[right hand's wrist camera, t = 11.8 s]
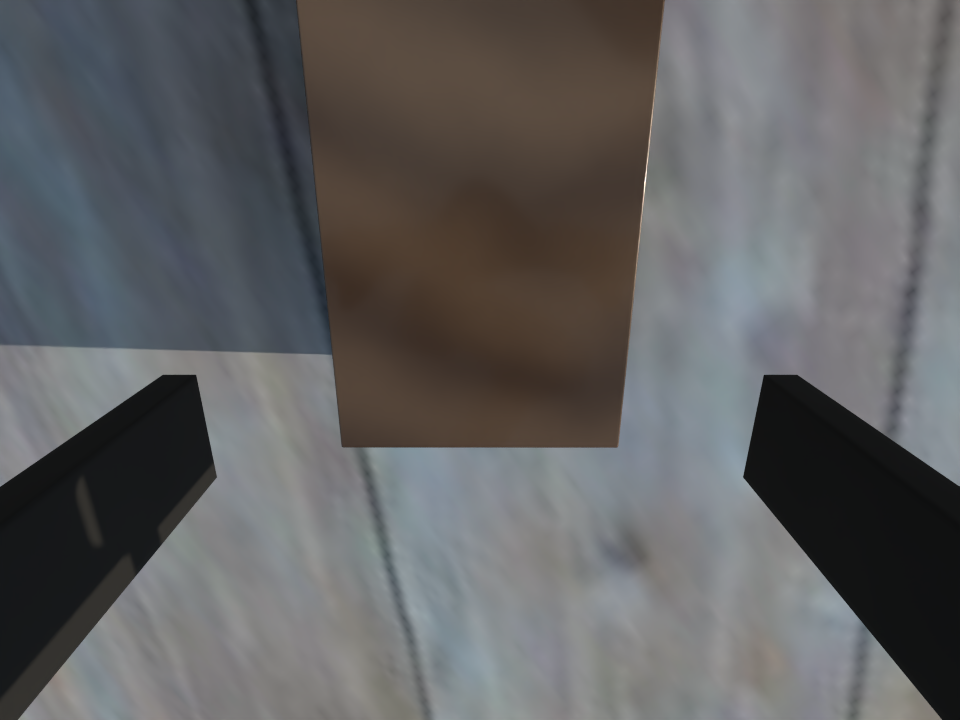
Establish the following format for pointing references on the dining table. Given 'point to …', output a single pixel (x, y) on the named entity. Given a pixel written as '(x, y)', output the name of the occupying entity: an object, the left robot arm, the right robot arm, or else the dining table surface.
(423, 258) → the cabinet
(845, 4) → the dining table surface
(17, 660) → the right robot arm
